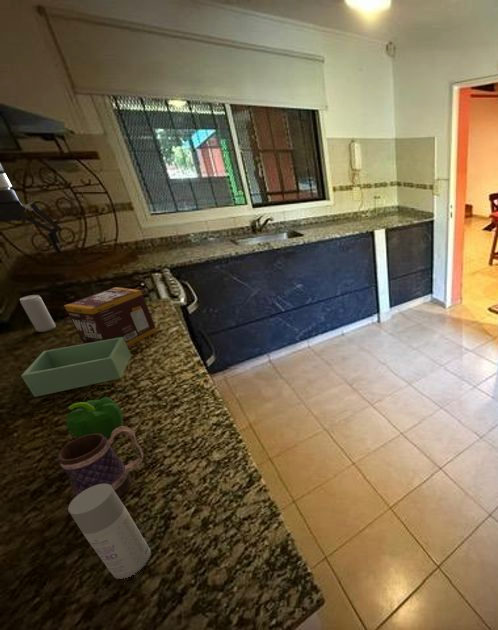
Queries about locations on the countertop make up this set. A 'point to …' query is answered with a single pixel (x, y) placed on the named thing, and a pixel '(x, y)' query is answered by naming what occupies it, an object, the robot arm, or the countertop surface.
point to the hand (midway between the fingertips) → (30, 257)
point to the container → (110, 530)
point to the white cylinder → (37, 313)
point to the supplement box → (112, 316)
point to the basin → (77, 366)
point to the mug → (98, 462)
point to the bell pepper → (94, 418)
